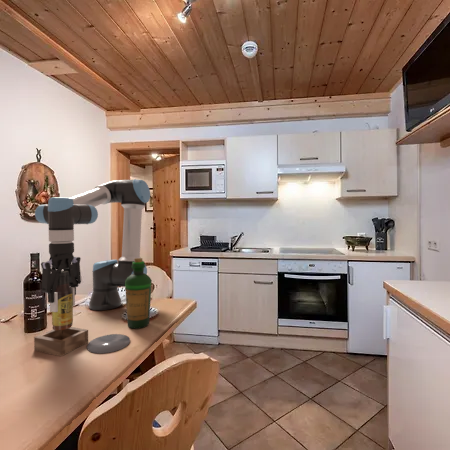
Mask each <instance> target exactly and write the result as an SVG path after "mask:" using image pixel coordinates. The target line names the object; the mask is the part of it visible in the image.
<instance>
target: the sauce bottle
mask: <svg viewBox="0 0 450 450" xmlns="http://www.w3.org/2000/svg"><path fill="white" fill-rule="evenodd" d="M68 276H69V271H66V270H65V271H64V270H62V271H61V273H60V275H59V279H58V283H57V286H56V290H55V292H58V312H51V316H52V317H51V325H52V330H55V331H61V330H66V329H68V328H70V327H73V321H74V313H73V312H74V306H73V293H72V291H71V288H70V285H69V280H68V279H69V278H68Z"/></svg>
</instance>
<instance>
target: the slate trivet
mask: <svg viewBox="0 0 450 450" xmlns="http://www.w3.org/2000/svg"><path fill="white" fill-rule="evenodd" d="M130 339H131V338H130V336H127V335H125V334H120V333H119V334H118V333H112V334H105V335H102V336H98V337H95V338H93V339H92V340H90V341H88V343H87V344H86V349H87V351H89V352H90V353H93V354H110V353H114V352H118V351H120V350H122V349H124V348H126V347H128V346H129V344H130V343H131V340H130Z"/></svg>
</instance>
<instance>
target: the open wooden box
mask: <svg viewBox="0 0 450 450" xmlns="http://www.w3.org/2000/svg"><path fill="white" fill-rule="evenodd" d="M33 343H34V347H33V348H34V351H36V352H40V353H43V354H48V355H53V356H57V357H62V356H65V355H66V354H69V353H71V352H72V351H74V350H76V349H78V348H80V347H82V346H84V345H87V344H88V343H89V329H85V328H79V327H73V326H71V327H70V328H68V329H66V330H61V331H55V330H53V329H51V330H48V331H46V332H43V333H40V334H39V335H36V336H34V337H33Z"/></svg>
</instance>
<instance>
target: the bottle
mask: <svg viewBox="0 0 450 450" xmlns="http://www.w3.org/2000/svg"><path fill="white" fill-rule="evenodd" d="M134 260H135V261H134V262H133V263H132V268H133V274H131V275H130V276H129V277H127V279H126V280H125V287H124V289H125V302H126V319H127V327H128V328H129V329H135V330H136V329H143V328H145V327H147V326H148V325H150V316H151V315H150V314H151V299H152V297H151V296H152V295H151V294H152V283H153V282H152V278H151V277H150V275H148V274H147V275H146V274H145V273H143V272H144V267H145V265H146V263H145V261H144V260H143V258H142V257H140V258H135V259H134ZM142 260H143V261H142Z"/></svg>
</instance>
